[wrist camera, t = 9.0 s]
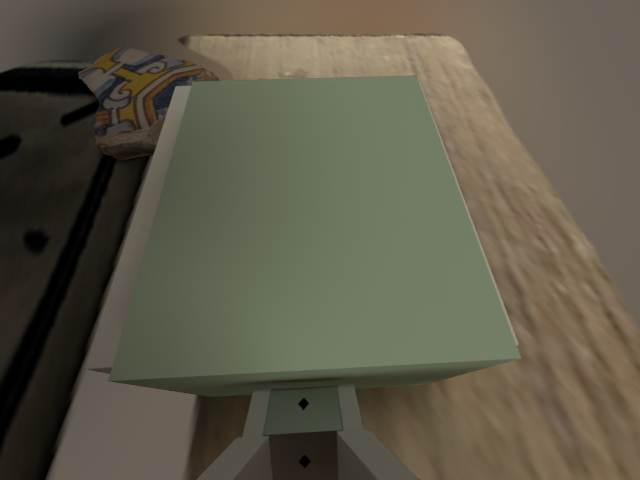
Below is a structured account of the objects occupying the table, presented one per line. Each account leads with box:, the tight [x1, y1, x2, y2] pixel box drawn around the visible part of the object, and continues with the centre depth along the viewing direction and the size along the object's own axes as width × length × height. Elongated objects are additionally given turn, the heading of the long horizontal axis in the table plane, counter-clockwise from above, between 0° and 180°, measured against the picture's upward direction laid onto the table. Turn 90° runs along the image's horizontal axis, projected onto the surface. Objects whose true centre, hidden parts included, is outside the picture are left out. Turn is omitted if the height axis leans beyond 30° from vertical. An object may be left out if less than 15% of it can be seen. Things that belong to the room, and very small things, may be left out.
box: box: [85, 79, 519, 374], centre depth 17 cm, size 16×17×4 cm
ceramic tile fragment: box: [78, 48, 219, 161], centre depth 23 cm, size 12×3×10 cm
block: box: [109, 75, 521, 397], centre depth 14 cm, size 10×12×8 cm
